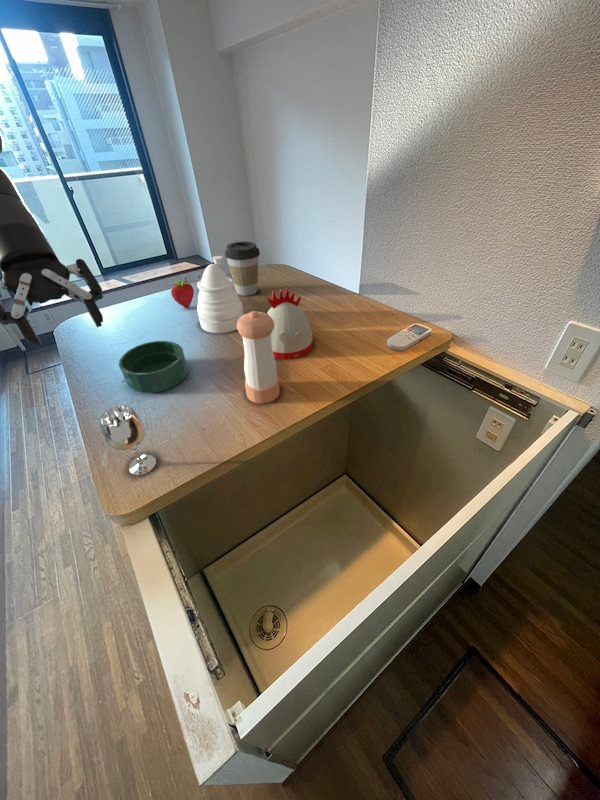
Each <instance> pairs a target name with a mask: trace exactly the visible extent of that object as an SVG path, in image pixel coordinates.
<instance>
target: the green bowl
mask: <svg viewBox="0 0 600 800" xmlns="http://www.w3.org/2000/svg"><path fill="white" fill-rule="evenodd" d="M118 367H119V369H120V372H121V373H122V375H123V378H124V380H125V382H126V384H127V386H128V388H129V389H131V390H132V391H135V392H138V393H143V394H147V393H148V394H150V393H158V392H163V391H166V390H169V389H171V388H173V387H175V386H177V385H178V384H180V383H181V382H183V380H184V379H185V378H186V377H187V375H188V372H189V365H188V363H187V360H186V356H185V352H184V348H182V346H181V345H180V344H179V343H176V342H174V341H168V340H154V341H149V342H144V343H142V344H138V345H136V346H134V347H132V348H130V349H128V350H127V351H125V353H124V354H122V355H121V357H120V359H119V361H118Z"/></svg>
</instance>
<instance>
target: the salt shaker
mask: <svg viewBox="0 0 600 800" xmlns="http://www.w3.org/2000/svg"><path fill="white" fill-rule="evenodd" d="M273 329H274V321H273V319H272V318H271V317H270V316H269V315H268V314H267V312H264V311H256V310H252V311H250V312H247V313H244V315H242V316H241V317H240V318H239V320H238V322H237V329H236V330H237V332H238V333H239V335H240V336H241V337H242V344H243V352H244V362H243V371H244V376H245V378H244V387H245V394H246V397H247V399H248V400H250V401H251V402H252V403H255V404H269V403H271V402H273V401H275V400H276V399H277V398H278V397H279V396H280V382H279V380H280V379H279V377H278V375H277V362H276V358H275V357H274V354H273V351H272V342H271V333H272V331H273Z"/></svg>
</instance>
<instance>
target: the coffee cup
mask: <svg viewBox="0 0 600 800" xmlns="http://www.w3.org/2000/svg"><path fill="white" fill-rule="evenodd" d="M260 255H261V252H260V249H259V248H258V247H257V244H256V243H255V242H252V241H234V242H231V243H229V244H228V245H226V249H225V250H224V257H225V258H226V260H227V264H228V267H229V270H230V275H231V278H232V279H233V280H234V285H233V287H234V289H235V290H236V292H237V295H238V296H243V297H249V296H252V295H256V293H258V285H259V284H258V283H259V256H260Z"/></svg>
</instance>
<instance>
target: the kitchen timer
mask: <svg viewBox="0 0 600 800" xmlns="http://www.w3.org/2000/svg"><path fill="white" fill-rule="evenodd" d="M278 293H279V294H278V297H277V295H276V294H275V291H274V290H272V292H271V294H272V298H269V296H266V299H267V301H268V303H269V305H270V308H269V309H268V311H267V312H266V314H268V315H269V316H270V317H271V318H272V319H273V321H274V329H273V331H272V333H271V342H272V351H273V354H274V358H275V359H284V360H288V359H295V358H299V357H302V356H304V355H306V354H307V353H309V352H310V351H311V350H312V347H313V331H312V328H311V325H310V322H309V319H308V317H307V316H306V313H305V312H304V310H303V309H302V308H300V306H299V304H300V301H301V296H300V295H298V296H297V298H296V300H295V296H296V293H295V291H293V292H292V293H291V294H290V292H289V289H288V287H287V288H285V293H284V294H283V290H282V288H280V289H279V292H278Z"/></svg>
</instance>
